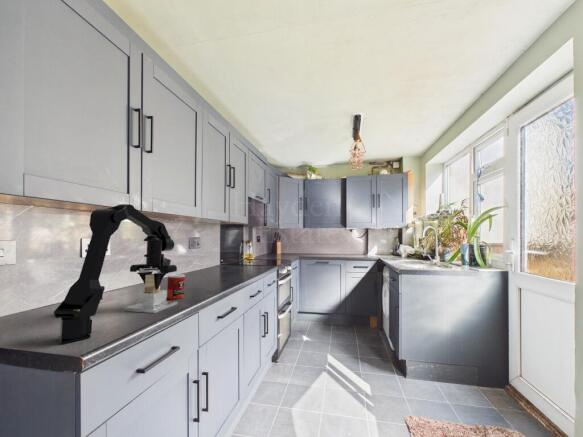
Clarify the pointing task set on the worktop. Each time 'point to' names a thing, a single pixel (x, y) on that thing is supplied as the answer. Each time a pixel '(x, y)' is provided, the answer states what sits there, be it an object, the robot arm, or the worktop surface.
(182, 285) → the canned food
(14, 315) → the worktop surface
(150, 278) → the rail end
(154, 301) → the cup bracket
